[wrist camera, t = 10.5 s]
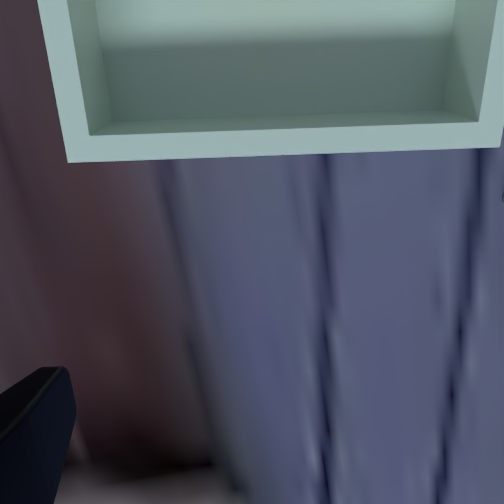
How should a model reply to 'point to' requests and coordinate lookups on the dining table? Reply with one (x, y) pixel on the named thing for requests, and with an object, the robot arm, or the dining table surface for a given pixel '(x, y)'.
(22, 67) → the dining table surface
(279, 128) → the parts tray
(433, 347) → the dining table surface
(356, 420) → the dining table surface
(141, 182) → the dining table surface
